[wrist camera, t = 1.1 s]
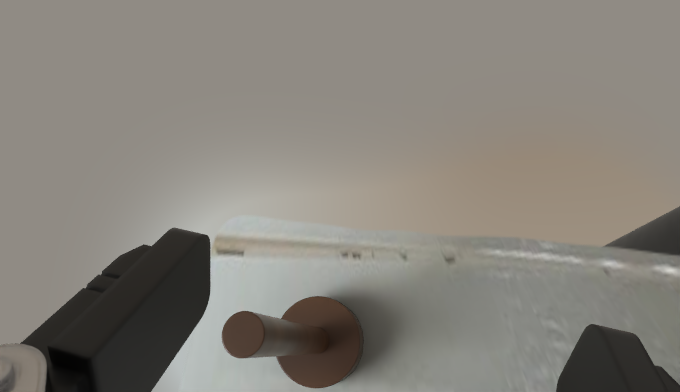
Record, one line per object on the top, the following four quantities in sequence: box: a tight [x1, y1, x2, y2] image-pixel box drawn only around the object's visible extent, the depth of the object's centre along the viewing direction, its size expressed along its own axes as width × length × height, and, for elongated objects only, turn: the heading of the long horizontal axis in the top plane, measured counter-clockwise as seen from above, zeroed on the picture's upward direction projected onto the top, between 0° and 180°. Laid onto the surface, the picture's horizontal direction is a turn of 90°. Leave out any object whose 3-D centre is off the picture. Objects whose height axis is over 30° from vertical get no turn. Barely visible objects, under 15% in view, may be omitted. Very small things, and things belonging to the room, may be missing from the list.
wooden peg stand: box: [222, 296, 364, 388], centre depth 23 cm, size 6×6×16 cm
